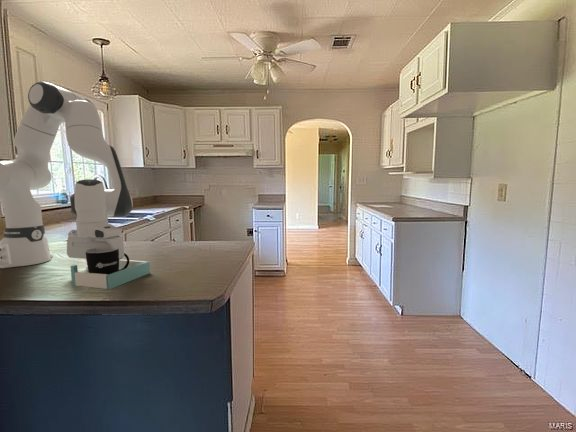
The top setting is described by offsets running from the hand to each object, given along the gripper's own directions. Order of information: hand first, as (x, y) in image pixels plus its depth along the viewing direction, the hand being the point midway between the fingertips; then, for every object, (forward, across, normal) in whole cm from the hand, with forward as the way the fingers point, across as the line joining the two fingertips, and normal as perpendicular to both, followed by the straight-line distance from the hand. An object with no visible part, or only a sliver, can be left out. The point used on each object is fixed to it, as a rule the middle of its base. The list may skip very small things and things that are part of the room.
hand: (96, 272), depth 106 cm
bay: (+2, +7, 0) cm, 7 cm away
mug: (+2, +7, -2) cm, 7 cm away
